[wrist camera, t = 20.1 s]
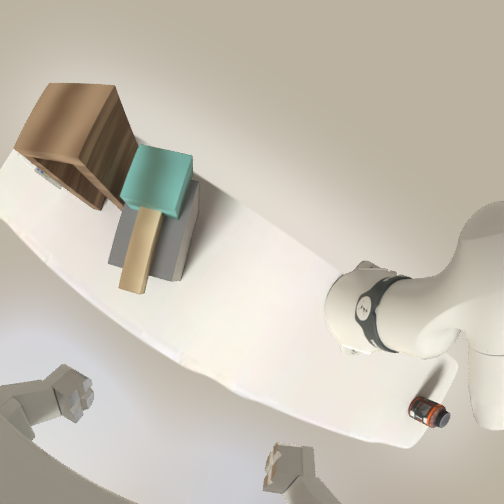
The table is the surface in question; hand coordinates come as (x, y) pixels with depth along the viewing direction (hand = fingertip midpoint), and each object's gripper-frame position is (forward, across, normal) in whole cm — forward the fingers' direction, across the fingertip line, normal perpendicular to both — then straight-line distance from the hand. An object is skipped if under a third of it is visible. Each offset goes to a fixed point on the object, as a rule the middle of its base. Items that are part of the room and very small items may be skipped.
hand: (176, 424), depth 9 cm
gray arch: (+35, +15, +3) cm, 39 cm away
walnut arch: (+35, +25, -3) cm, 44 cm away
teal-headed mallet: (+22, +12, -2) cm, 25 cm away
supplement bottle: (+39, -49, +30) cm, 69 cm away
